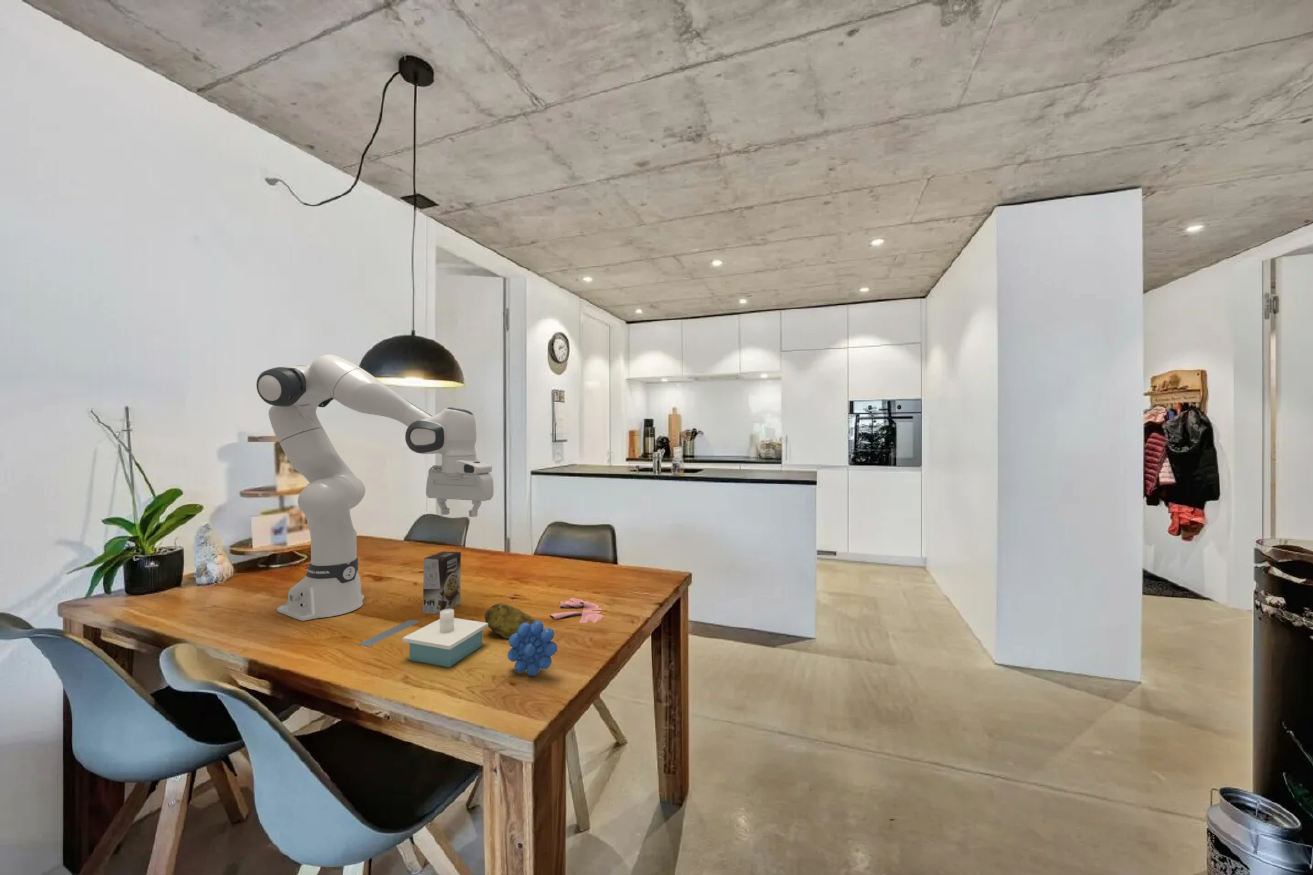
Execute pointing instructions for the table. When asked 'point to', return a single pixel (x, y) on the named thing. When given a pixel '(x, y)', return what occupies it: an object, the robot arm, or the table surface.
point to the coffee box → (441, 582)
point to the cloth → (586, 613)
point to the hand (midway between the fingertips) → (459, 515)
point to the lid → (445, 631)
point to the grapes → (532, 648)
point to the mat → (388, 633)
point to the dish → (444, 652)
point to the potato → (506, 619)
